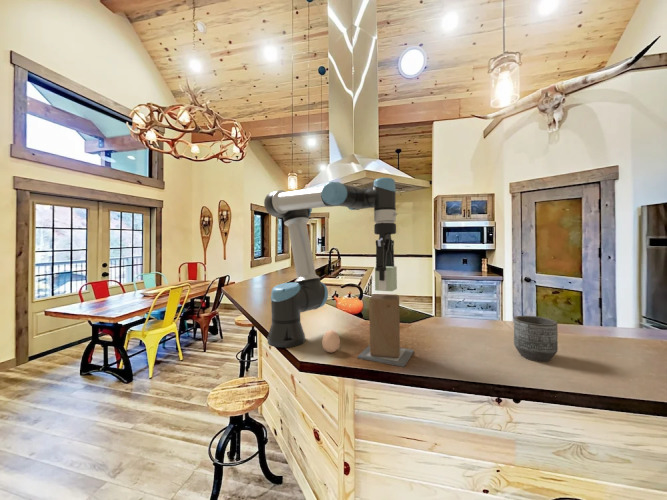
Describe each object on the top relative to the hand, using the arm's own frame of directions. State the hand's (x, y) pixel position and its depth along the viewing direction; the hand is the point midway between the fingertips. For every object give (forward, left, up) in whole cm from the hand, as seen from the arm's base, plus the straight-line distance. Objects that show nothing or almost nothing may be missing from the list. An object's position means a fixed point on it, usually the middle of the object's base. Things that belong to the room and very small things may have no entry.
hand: (385, 288), depth 99 cm
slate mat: (0, 0, -24) cm, 24 cm away
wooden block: (0, 0, -23) cm, 23 cm away
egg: (-19, -6, -24) cm, 31 cm away
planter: (+46, +21, -24) cm, 56 cm away
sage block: (0, 0, 0) cm, 0 cm away
